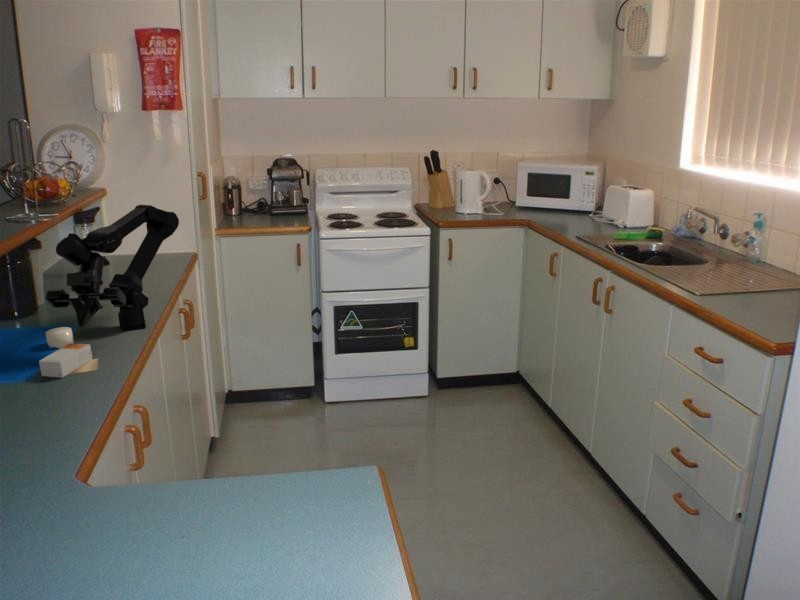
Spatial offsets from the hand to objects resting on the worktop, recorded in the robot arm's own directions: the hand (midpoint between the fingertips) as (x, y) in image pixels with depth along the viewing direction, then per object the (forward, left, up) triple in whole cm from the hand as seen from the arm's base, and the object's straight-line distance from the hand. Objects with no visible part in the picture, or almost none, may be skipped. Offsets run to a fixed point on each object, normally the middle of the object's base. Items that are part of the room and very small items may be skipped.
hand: (81, 327), depth 178 cm
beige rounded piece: (+7, -14, -9) cm, 17 cm away
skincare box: (+1, 0, -6) cm, 6 cm away
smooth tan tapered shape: (+2, +6, -8) cm, 10 cm away
